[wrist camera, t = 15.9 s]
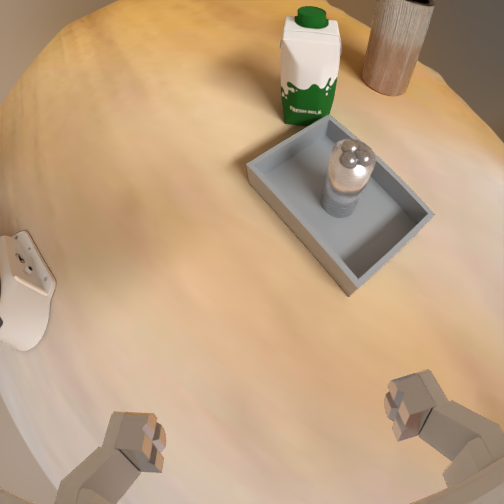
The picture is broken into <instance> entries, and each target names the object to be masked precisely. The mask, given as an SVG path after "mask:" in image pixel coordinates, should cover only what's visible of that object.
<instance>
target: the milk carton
mask: <svg viewBox="0 0 504 504" xmlns="http://www.w3.org/2000/svg"><path fill="white" fill-rule="evenodd" d="M283 33H284V35H283ZM283 33H282V36H283V40H282V37H281V41H282V48H281V42H280V48H281V56H280V65H281V97H282V104H283V111H284V118H285V124H293V125H303V126H309V125H311V124H313V123H315V122H316V121H318V120H320V119H322V118H323V117H325V116H327V115H329V114H330V110H331V107H332V104H333V100H334V95H335V89H336V82H337V76H338V69H339V62H340V56H341V40H340V34H339V29H338V24H337V21H334V20H328V19H326V12H325V11H324V10H323V9H321V8H318V7H312V6H305V7H301V8H299V9H298V16H295V17H292V16H287V17H286V21H285V24H284V28H283Z"/></svg>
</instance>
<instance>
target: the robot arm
mask: <svg viewBox="0 0 504 504" xmlns="http://www.w3.org/2000/svg"><path fill="white" fill-rule="evenodd" d="M46 279H47V280H46ZM55 287H56V280H55V278H54V277H53V275H52V273H51V272H50V270H49V268H48V267H47V265H46V263H45V262H44V260H43V258H42V256H41V255H40V253H39V251H38V249H37V248H36V246H35V244H34V242H33V240H32V238H31V237H30V235H29V233H28V232H26V231H21V232H18V233H16V234H15V235H13V236H12V237H9V236H6V235H4V236H0V341H1V342H3V343H5V344H7V345H9V346H11V347H12V348H14V349H16V350H18V351H27V350H30V349H32V348H33V347H34V346H35V345H37V343H38V342H39V341H40V340H41V338H42V336H43V334H44V332H45V330H46V327H47V323H48V319H49V312H50V301H51V298H52V295H53V293H54V290H55ZM388 389H389V392H388V393H387V394H386V395H385V400H384V405H385V411H386V414H387V417H388V418H389V419H390V420H392V421H394V423H393V426H392V429H393V432H394V434H395V437H396V439H397V442H399V441H402V440H405V439H408V438H411V437H414V436H417V435H419V437H420V438H421V439H423V440H424V441H425V442H427V443H428V444H429V445H431V446H432V447H433V448H435V449H436V450H437V451H439V452H440V453H441V454H443V455H444V456H445V457H447V458H448V459H449V460H451V461H452V462H451V464H450V465H449V466H448V467H447V468H446V469H445V470H444V472H443V476H444V479H445V481H446V484H447V487H448V488H446V489H444V490H442V491H439V492H437V493H435V494H433V495H430V496H428V497H426V498H423V499H421V500H418V501H416V502H413V503H410V504H504V433H503V431H502V429H501V428H500V426H499V424H497V423H495V422H493V421H491V420H489V419H487V418H485V417H483V416H481V415H479V414H477V413H475V412H473V411H472V410H470V409H468V408H466V407H464V406H462V405H460V404H458V403H456V402H455V401H453V400H451V401H448V399H447V397H446V395H445V394H444V392H443V390H442V389H441V387H440V385H439V384H438V382H437V380H436V379H435V377H434V375H433V374H432V372H431V371H430V370H429V369H427V370H423V371H421V372H418V373H413V374H410V375H407V376H404V377H401V378H398V379H394V380H391V381H390V382H389V384H388ZM156 421H157V417H156V416H155V415H154V413H134V412H115V411H114V412H113V414H112V415H111V418H110V421H109V424H108V428H107V431H106V435H105V438H104V442H103V445H102V447H98V448H97V449H96V450H95V451H94V452H93V453H92V454H90V455H89V456H88V457H87V458H86V459H85V460H84V461H83V462H82V463H81V464H80V465H78V466H77V467H76V468H75V469H74V470H73V471H72V472H71V473H70V474H68V475H67V476H66V477H65V478H64V479H63V480H62V481H61V482H60V486H59V489H58V493H57V496H56V501H55V504H116V503H117V502H118V501H119V500H120V498H121V497H122V496H123V495H124V494H125V492H126V491H127V490H128V489H129V487H130V486H131V485H132V484H133V482H134V481H135V480H136V479H137V477H138V476H139V475H140V473H141V472H156V473H162V468H163V460H164V457H163V456H162V454H161V452H162V451H163V450H164V448H165V446H166V434H165V431H164V428H163V427H162V425H161V424H159V423H157V422H156ZM0 504H37V503H34V502H32V501H29V500H27V499H25V498H22V497H20V496H18V495H15V494H13V493H11V492H9V491H7V490H5V489H3V488H1V487H0Z"/></svg>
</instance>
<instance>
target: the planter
mask: <svg viewBox="0 0 504 504" xmlns="http://www.w3.org/2000/svg"><path fill="white" fill-rule="evenodd" d="M434 5H435V3H434V1H433V0H376V5H375V10H374V16H373V21H372V26H371V32H370V37H369V42H368V47H367V51H366V56H365V61H364V66H363V71H362V78H363V80H364V82H365V83H366V84H367V85H368V86H369V87H370V88H372V89H373V90H375V91H377V92H379V93H382V94H385V95H390V96H398V95H402V94H403V93H405V91H406V89H407V87H408V84H409V82H410V79H411V76H412V73H413V70H414V68H415V65H416V62H417V59H418V56H419V53H420V50H421V47H422V44H423V41H424V38H425V34H426V32H427V29H428V25H429V22H430V19H431V16H432V12H433V9H434Z"/></svg>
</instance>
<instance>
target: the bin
mask: <svg viewBox="0 0 504 504" xmlns="http://www.w3.org/2000/svg"><path fill="white" fill-rule="evenodd" d="M344 139H355V140H359V139H358V138H357V137H356V136H355V135H353V134H352V133H351V132H350V131H349V130H348V129H346V128H345V127H344V126H343V125H342V124H340V123H339V122H338V121H337V120H335V119H334V118H333V117H332V116H331V115H327V116H325V117H323V118H322V119H320V120H318V121H316V122H315V123H313V124H311V125H309V126H308V127H306V128H304V129H303V130H301V131H299V132H297V133H296V134H294V135H292V136H291V137H289V138H287V139H286V140H284V141H282V142H281V143H279V144H277V145H276V146H274V147H273V148H271V149H269V150H268V151H266V152H264V153H263V154H261V155H260V156H258V157H256V158H255V159H253V160H252V161H250V162H249V163H247V164H246V167H247V173H248V180H249V184H250V185H251V186H252V187H253V188H254V189H255V190H256V191H257V192H258V194H259V195H260V196H261V197H262V198H263V199H264V200H265V201H266V202H267V203H268V205H269V206H270V207H271V208H272V209H273V210H274V211H275V212H276V213H277V215H278V216H279V217H280V218H281V219H282V220H283V221H284V222H285V224H286V225H287V226H288V227H289V228H290V229H291V230H292V231H293V233H294V234H295V235H296V236H297V237H298V238H299V239H300V241H301V242H302V243H303V244H304V245H305V246H306V247H307V249H308V250H309V251H310V252H311V253H312V254H313V256H314V257H315V258H316V259H317V260H318V261H319V263H320V264H321V265H322V266H323V267H324V268H325V270H326V271H327V272H328V273H329V274H330V275H331V277H332V278H333V279H334V280H335V281H336V283H337V284H338V285H339V286H340V287H341V289H342V290H343V291H344V292H345V293H346V295H347V296H348V297H349V296H350V295H351V294H353V293H354V292H355V291H356V290H357V289H358V288H359V287H361V286H362V285H363V284H364V283H365V282H366V281H367V280H368V279H369V278H371V277H372V276H373V275H374V274H375V273H376V272H377V271H378V270H379V269H380V268H382V267H383V266H384V265H385V264H386V263H387V262H388V261H389V260H390V259H391V258H392V257H393V256H394V255H395V254H396V253H398V252H399V251H400V250H401V249H402V248H403V247H404V246H405V245H406V244H407V243H408V242H409V241H410V240H411V239H412V238H413V237H414V236H415V235H416V234H417V233H418V232H419V231H420V230H421V229H422V228H423V227H424V226H425V225H426V224H427V223H428V222H429V221H430V220H431V218H432V217H433V216H434V215H435V214H434V213H433V212H432V211H431V210H430V209H429V207H428V206H427V205H426V204H425V203H424V202H423V201H422V200H421V199H420V198H419V197H418V196H417V195H416V194H415V192H414V191H413V190H412V189H411V188H410V187H409V186H408V185H407V184H406V183H405V182H404V181H403V180H402V179H401V178H400V177H399V176H398V175H397V174H396V173H395V172H394V171H393V170H392V169H391V168H390V167H389V166H388V165H386V164H385V163H384V162H383V161H382V160H381V159H380V158H379V157H378V156H377V155H376V154H375V153H374V155H375V158H376V163H375V166H374V169H373V171H372V173H371V176H370V178H369V180H368V182H367V185H366V187H365V189H364V191H363V193H362V196H361V198H360V200H359V202H358V204H357V206H356V209H355V211H354V212H353V213H352V214H351V215H350V216H348V217H345V218H336V217H333V216H331V215H329V214H328V213H327V212H326V211H325V210H324V209H323V207H322V204H321V197H322V192H323V188H324V184H325V180H326V175H327V171H328V167H329V162H330V158H331V153H332V149H333V147H334V145H335V144H336V143H337V142H339V141H341V140H344ZM359 141H360V140H359Z"/></svg>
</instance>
